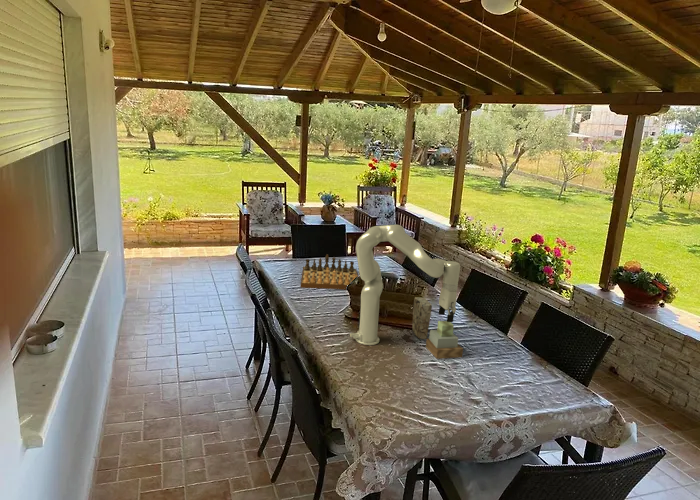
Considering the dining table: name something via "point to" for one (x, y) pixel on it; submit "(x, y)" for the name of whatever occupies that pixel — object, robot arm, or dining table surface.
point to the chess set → (327, 275)
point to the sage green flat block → (443, 340)
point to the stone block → (421, 317)
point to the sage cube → (445, 328)
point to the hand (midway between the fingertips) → (445, 318)
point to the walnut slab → (444, 351)
